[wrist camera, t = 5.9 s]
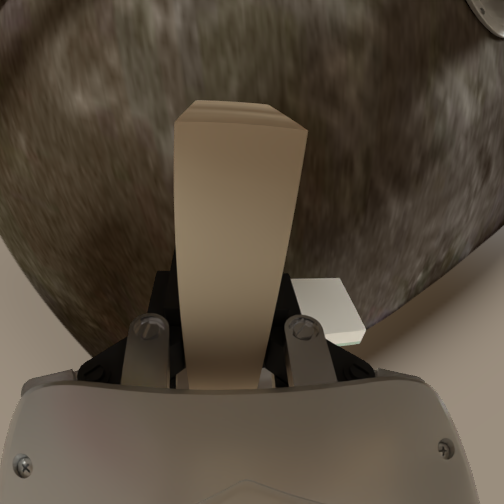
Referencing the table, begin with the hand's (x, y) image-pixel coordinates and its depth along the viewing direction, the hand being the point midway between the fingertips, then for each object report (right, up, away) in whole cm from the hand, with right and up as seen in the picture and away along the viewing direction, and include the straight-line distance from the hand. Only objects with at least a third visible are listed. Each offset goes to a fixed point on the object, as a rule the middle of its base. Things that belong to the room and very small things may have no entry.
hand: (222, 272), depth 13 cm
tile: (+5, -3, +19) cm, 20 cm away
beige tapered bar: (0, 0, 0) cm, 0 cm away
